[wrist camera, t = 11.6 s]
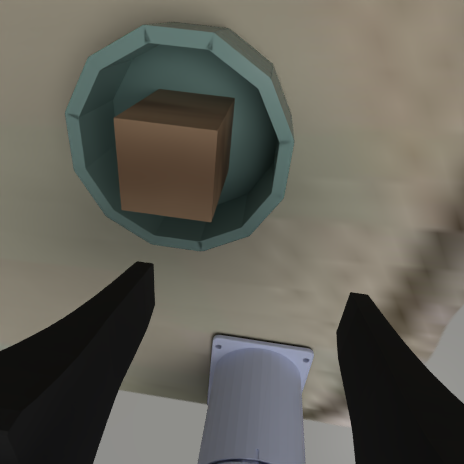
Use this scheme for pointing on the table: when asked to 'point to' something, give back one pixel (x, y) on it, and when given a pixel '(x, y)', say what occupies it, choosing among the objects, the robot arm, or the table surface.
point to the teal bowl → (193, 81)
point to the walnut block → (174, 153)
